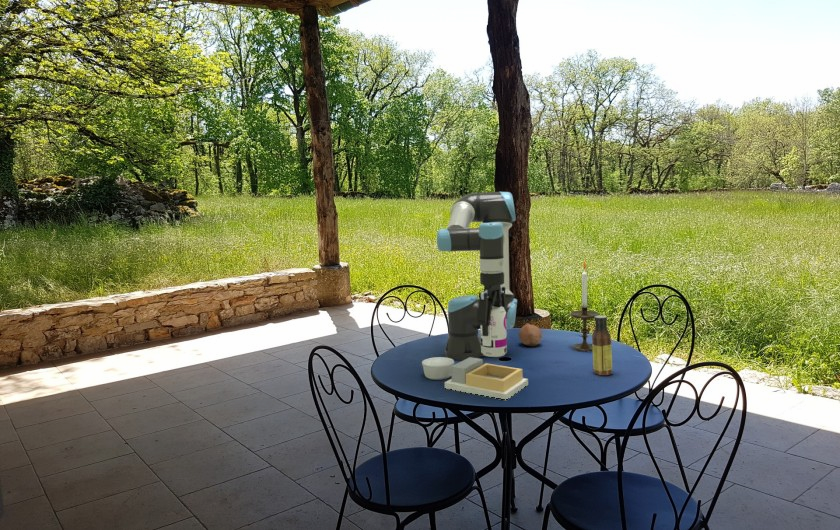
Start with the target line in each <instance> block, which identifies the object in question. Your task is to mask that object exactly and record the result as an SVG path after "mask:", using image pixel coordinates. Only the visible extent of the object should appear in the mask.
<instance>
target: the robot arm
mask: <svg viewBox="0 0 840 530" xmlns="http://www.w3.org/2000/svg"><path fill="white" fill-rule="evenodd" d="M513 197H514V196H513V194H512V193H511V192H510V191H493V192H473V193H467V194H466V195H464V196H462V197H460V198H459V199H457V200H456V201H454V203H453V204H452V205H451V208H450V211H449V215H450V216H449V217H450V218H449V220H448V223H447V227H446V228H440V229H438V230H437V234H436V245H437V249H438V251H440V252H469V251H470V252H471V251H472V252H473V251H474V252H475V251H477V252H478V251H479V271H480V273H479V278H480V279H479V284H481V285H482V286H483V292H478V295H476V294H468V295H461V296H457V297H454V298H451V299H450V300H448V302H447V320H448V322H447V325H448V338H447V342H446V344H445V348H444V356H445V357H446V358H451V359H453V360H454V361H455V360H456V361H463V360H465V359H467V358H469V357H472V358H478V359H481V358H483V356H484V355H483V353H481V338H480V337H479V336H480V335H479V330H481V328H480V325H482V339H483V346H491V325H489V324H490V318H491V310H492V307H493V306H495V307H501V306H502V307H504V309H505V311H506V330H511V329H513V328H514V327H515V325H516V324H515V323H516V314H517V307H518V305H517V304H518V299H517V298H514V293H513V292H512V291H511V290H510V259H509V258H510V252H509V249H510V248H509V240H510V239H509V229H510V228H512V227H513V222H515V221H516V219H517V218H516V211H515V210H516V209H515V203H514V198H513ZM471 223H480V224H479V225H478V227H473V228H470V224H471Z"/></svg>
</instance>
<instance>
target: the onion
mask: <svg viewBox="0 0 840 530" xmlns="http://www.w3.org/2000/svg"><path fill="white" fill-rule="evenodd" d="M518 338H519V341H520V342H521V343H522V344H524V345H525V346H528V347H529V346H530V347H535V346H538V345H539V343H540V342H541V341H542V340H543V333H542V331H541V329H540V327H538V326H536V325H533V324H530V323H528V322H527V323H525V324H524V325H523V326H522V327H521V328H520V330H519V331H518Z"/></svg>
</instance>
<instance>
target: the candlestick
mask: <svg viewBox="0 0 840 530" xmlns="http://www.w3.org/2000/svg"><path fill="white" fill-rule="evenodd" d="M581 302H582V303H581V305H580V306H579V308H581V310H573V311H570V313H569V314H570V315H569V317H571V318H573V319H574V318H575V319H581V320H582V328H581V329H580V331H581V333H582V335H581V338H582V343H576V344H573V345H572V349H573V350H574V349H575V350H574V351H576V350H577V351H576V352H581V351H585V352H584V353H588V352H587V351H592V352H593V349H592V344H591V343H588V341H587V338H588V337H589V336H588V335H587V334H588V333H589V329H588V328H587V321H588V320H589V319H590V320H591V319H594V317H595V316H598V315H600V313H599V312H598V311H594V310H588V308H590V306H589V305H588V273H587V272H586V261H584V262H583V272H582V273H581Z"/></svg>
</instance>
